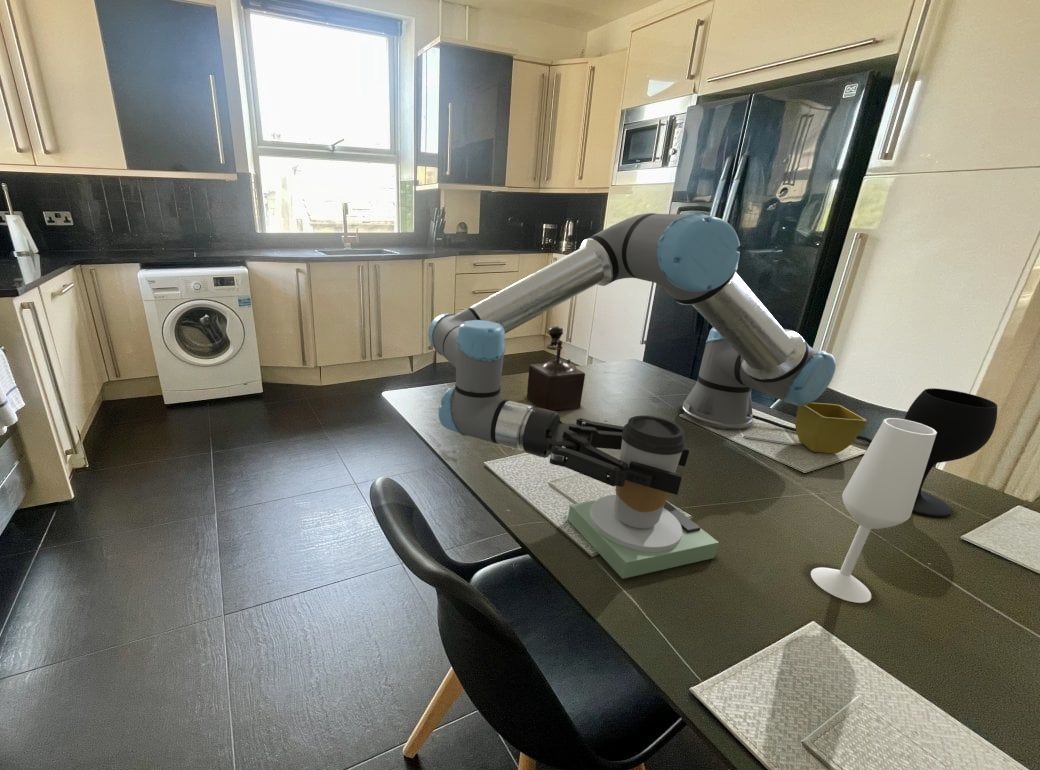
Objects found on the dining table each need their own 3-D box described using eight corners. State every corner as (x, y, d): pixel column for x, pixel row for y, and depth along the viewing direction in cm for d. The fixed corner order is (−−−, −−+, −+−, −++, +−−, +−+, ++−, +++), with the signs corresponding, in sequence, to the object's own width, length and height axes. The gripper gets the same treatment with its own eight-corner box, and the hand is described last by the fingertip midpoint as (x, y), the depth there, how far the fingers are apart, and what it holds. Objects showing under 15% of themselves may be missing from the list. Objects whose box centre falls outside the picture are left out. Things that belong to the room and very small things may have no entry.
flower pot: (826, 440, 109) (840, 404, 106) (853, 459, 101) (868, 420, 98) (785, 437, 110) (797, 401, 107) (808, 456, 102) (822, 417, 99)
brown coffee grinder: (583, 408, 122) (594, 338, 116) (545, 412, 119) (554, 341, 112) (551, 387, 136) (559, 324, 129) (516, 390, 132) (522, 326, 126)
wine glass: (935, 493, 90) (984, 393, 82) (963, 524, 81) (1021, 415, 73) (865, 479, 93) (906, 382, 86) (885, 507, 85) (932, 402, 77)
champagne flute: (853, 608, 62) (930, 442, 53) (799, 574, 68) (861, 419, 59) (882, 594, 65) (960, 433, 56) (828, 562, 71) (891, 411, 62)
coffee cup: (663, 507, 75) (685, 419, 69) (668, 539, 68) (692, 444, 62) (607, 496, 77) (623, 410, 72) (605, 526, 70) (624, 432, 65)
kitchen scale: (648, 504, 83) (653, 486, 82) (714, 557, 71) (720, 537, 69) (567, 519, 78) (570, 499, 77) (622, 579, 66) (627, 557, 65)
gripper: (549, 427, 87) (686, 463, 77) (500, 478, 70) (667, 532, 60) (554, 388, 85) (697, 420, 74) (504, 431, 68) (681, 480, 57)
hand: (683, 470), depth 67 cm, fingers closed on coffee cup, 8 cm apart
